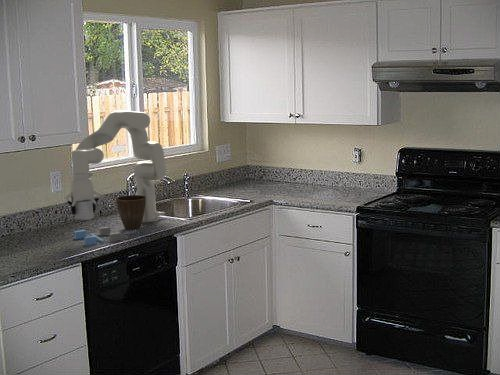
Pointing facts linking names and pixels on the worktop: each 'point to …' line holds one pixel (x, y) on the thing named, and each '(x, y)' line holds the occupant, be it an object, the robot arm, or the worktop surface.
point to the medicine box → (84, 210)
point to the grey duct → (112, 234)
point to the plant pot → (131, 210)
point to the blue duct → (87, 240)
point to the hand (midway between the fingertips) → (83, 213)
